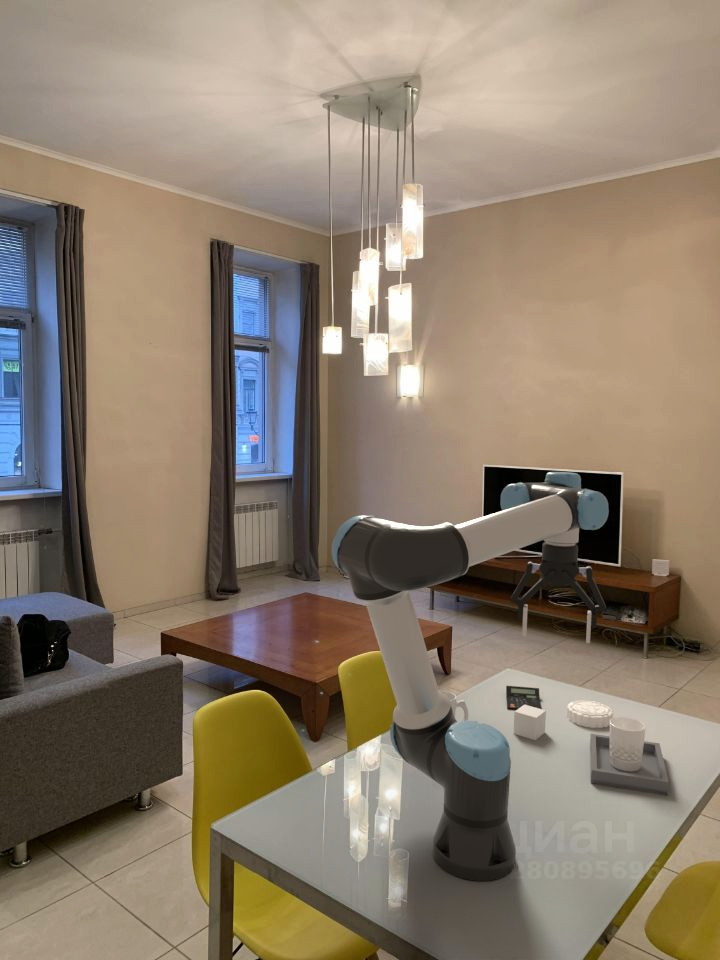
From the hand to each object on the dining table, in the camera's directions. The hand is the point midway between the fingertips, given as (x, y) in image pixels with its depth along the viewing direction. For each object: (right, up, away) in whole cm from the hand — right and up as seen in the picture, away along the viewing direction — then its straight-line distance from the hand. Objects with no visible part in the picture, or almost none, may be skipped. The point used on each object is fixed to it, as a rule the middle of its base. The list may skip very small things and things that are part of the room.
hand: (555, 638), depth 160 cm
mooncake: (+19, -31, +37) cm, 52 cm away
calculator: (+4, -29, +48) cm, 56 cm away
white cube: (+1, -31, +27) cm, 41 cm away
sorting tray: (+19, -33, +9) cm, 39 cm away
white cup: (+19, -32, +9) cm, 38 cm away
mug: (-21, -31, +21) cm, 43 cm away
